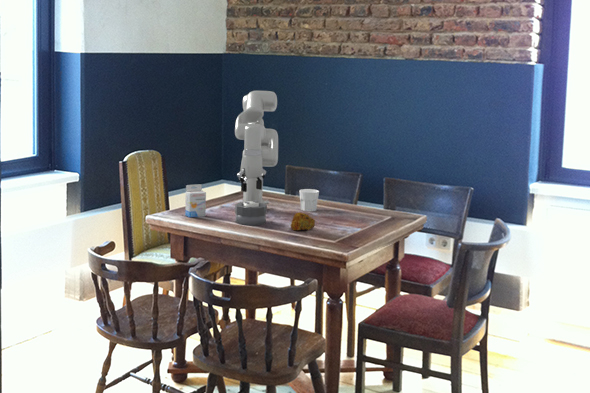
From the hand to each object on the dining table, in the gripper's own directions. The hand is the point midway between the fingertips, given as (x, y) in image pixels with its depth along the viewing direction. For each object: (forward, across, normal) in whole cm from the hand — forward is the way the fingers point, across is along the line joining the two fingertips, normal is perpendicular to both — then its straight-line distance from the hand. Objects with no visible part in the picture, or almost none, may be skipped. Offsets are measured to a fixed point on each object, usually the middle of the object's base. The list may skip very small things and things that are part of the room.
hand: (251, 190), depth 302 cm
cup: (+15, -42, -3) cm, 45 cm away
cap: (+11, 0, 0) cm, 11 cm away
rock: (+15, -8, +25) cm, 30 cm away
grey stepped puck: (+15, 0, 0) cm, 15 cm away
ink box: (+15, +13, -25) cm, 32 cm away
